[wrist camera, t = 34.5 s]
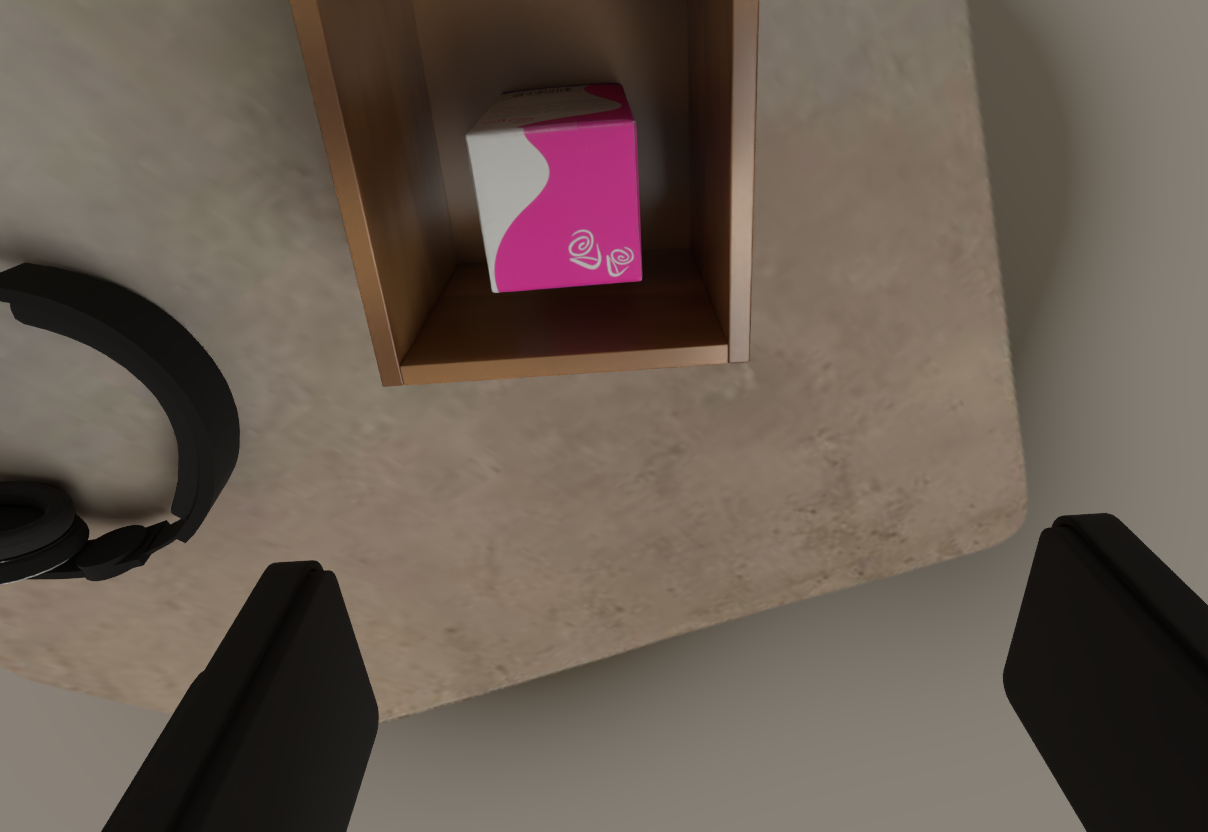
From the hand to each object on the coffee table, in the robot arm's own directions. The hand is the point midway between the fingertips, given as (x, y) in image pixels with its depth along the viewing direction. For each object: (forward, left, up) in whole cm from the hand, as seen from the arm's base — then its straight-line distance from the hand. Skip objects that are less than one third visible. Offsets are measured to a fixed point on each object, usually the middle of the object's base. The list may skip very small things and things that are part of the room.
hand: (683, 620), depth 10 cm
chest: (+1, -4, -30) cm, 31 cm away
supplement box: (+1, -3, -30) cm, 30 cm away
